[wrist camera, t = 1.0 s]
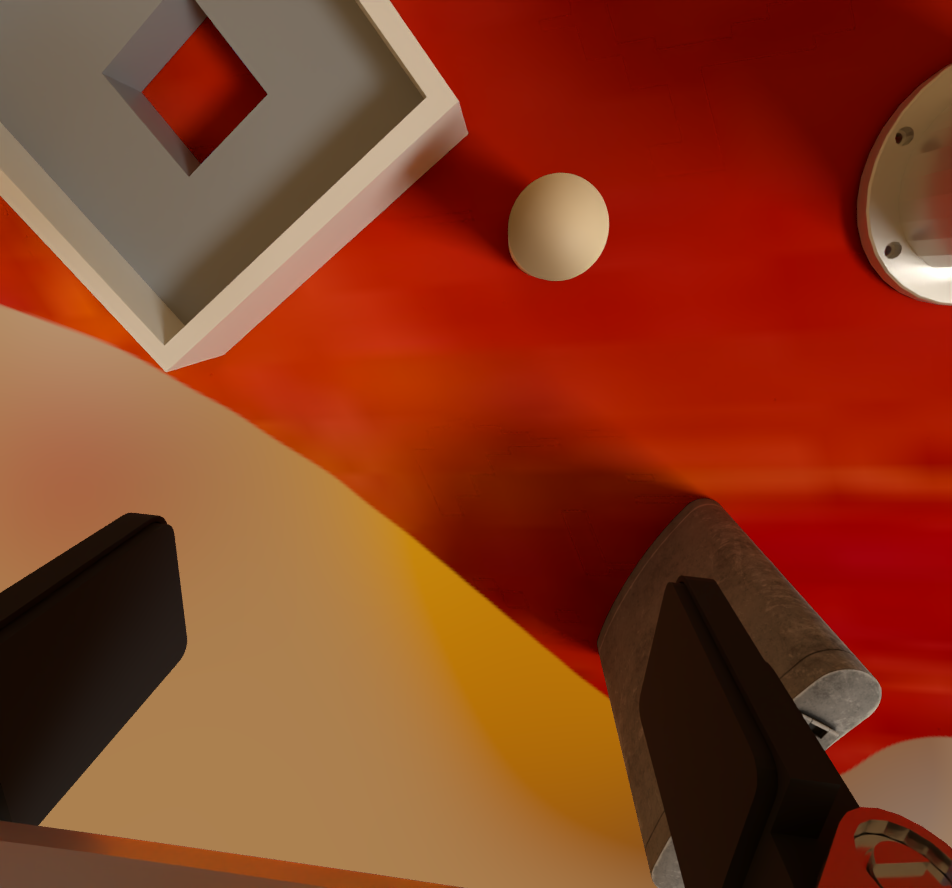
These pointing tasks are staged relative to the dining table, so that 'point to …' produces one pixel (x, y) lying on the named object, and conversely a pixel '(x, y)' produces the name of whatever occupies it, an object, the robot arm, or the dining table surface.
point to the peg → (557, 227)
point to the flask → (769, 626)
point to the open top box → (227, 168)
